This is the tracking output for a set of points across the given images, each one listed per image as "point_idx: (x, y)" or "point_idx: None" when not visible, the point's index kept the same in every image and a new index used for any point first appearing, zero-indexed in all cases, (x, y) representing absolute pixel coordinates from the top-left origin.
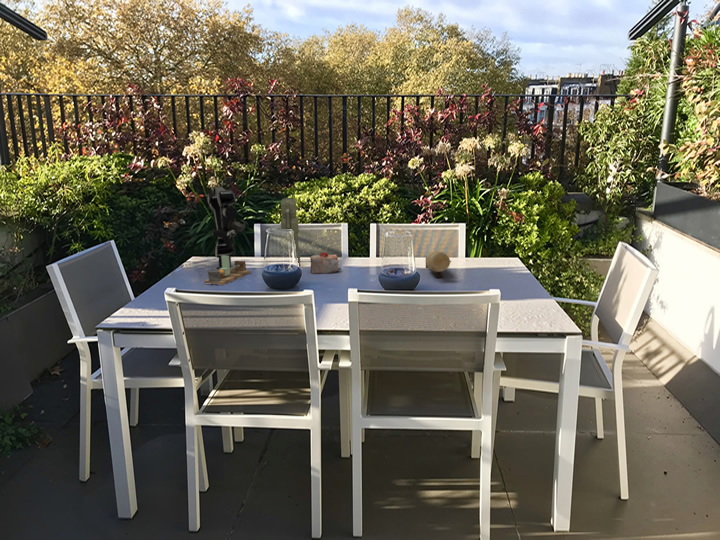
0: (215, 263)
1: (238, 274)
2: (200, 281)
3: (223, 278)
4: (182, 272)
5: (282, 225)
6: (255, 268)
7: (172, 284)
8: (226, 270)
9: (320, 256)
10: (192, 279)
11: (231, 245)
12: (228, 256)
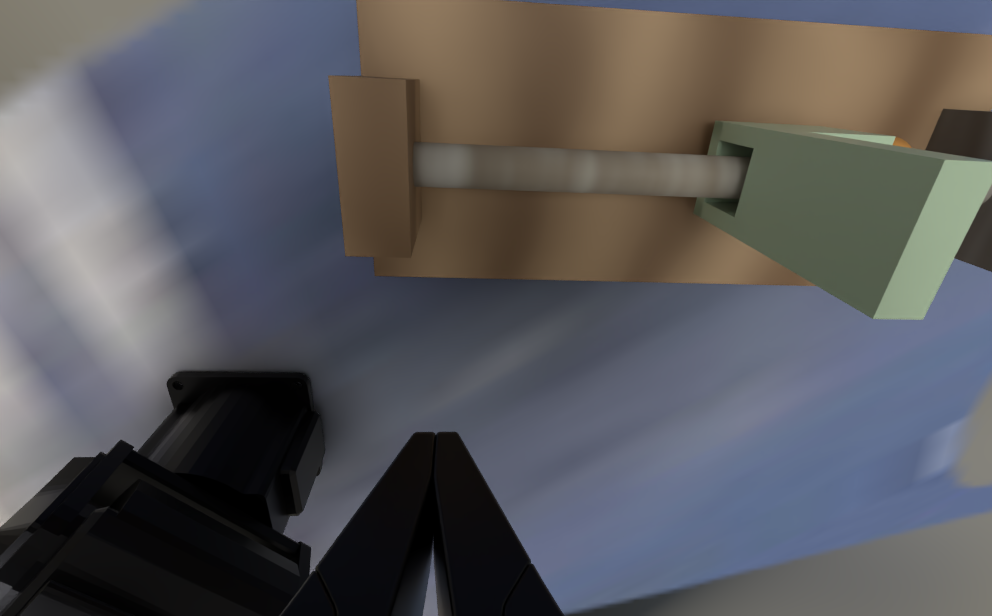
0: None
1: (622, 45)
2: (778, 358)
3: None
4: None
5: None
6: (91, 78)
7: (856, 488)
8: (838, 132)
9: None
10: (709, 448)
11: (51, 585)
12: (948, 157)
